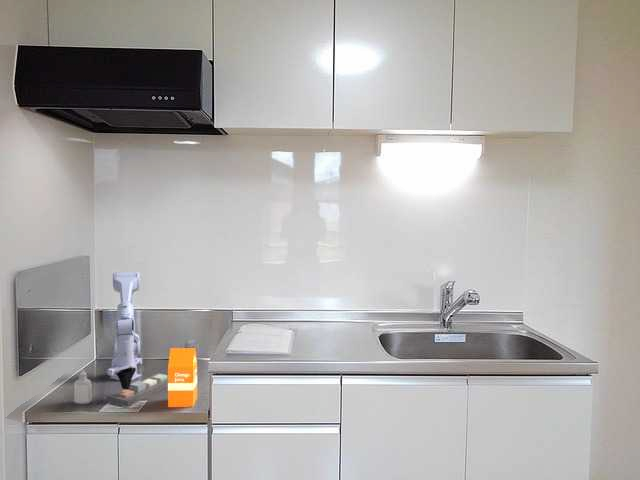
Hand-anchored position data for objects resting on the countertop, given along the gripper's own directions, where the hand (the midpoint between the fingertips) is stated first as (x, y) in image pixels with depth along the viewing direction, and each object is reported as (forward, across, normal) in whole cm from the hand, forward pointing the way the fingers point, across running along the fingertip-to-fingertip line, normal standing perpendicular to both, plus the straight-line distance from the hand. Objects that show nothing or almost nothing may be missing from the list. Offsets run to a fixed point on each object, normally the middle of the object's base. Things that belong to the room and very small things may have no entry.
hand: (125, 388), depth 174 cm
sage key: (+4, +18, 0) cm, 18 cm away
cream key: (+4, +12, 0) cm, 13 cm away
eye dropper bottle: (+4, -8, +12) cm, 15 cm away
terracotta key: (+4, 0, 0) cm, 4 cm away
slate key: (+3, +6, 0) cm, 6 cm away
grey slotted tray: (+4, +9, 0) cm, 10 cm away
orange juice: (+4, +7, -20) cm, 22 cm away
